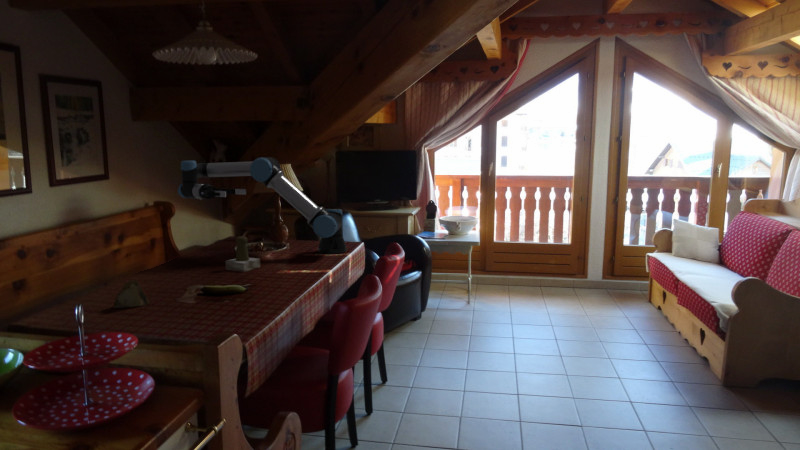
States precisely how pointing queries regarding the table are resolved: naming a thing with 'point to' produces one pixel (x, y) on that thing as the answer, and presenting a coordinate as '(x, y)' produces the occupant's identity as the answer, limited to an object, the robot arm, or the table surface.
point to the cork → (241, 249)
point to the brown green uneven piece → (212, 291)
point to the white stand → (242, 264)
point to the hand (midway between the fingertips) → (235, 193)
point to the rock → (130, 296)
